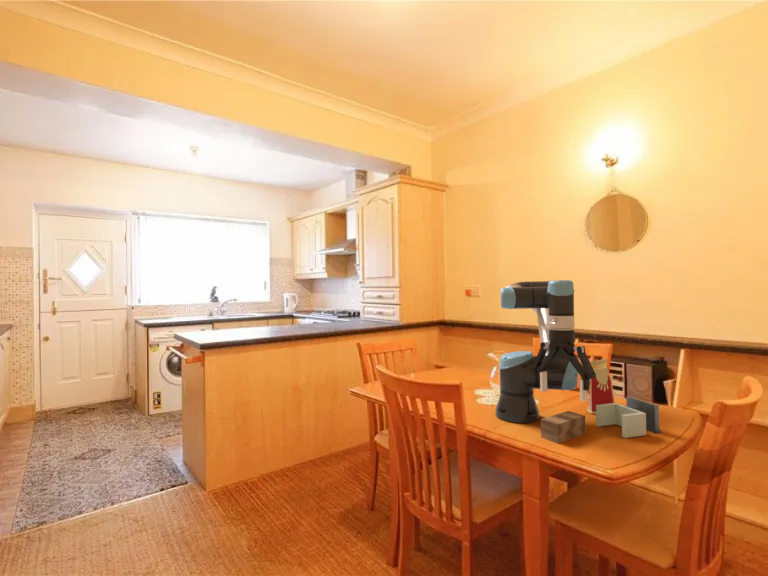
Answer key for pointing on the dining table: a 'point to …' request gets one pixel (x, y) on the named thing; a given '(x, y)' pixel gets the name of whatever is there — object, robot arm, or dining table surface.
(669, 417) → the dining table surface
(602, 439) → the dining table surface
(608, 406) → the socket block
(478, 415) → the dining table surface
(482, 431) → the dining table surface
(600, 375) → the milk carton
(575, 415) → the walnut bar
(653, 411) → the plate
